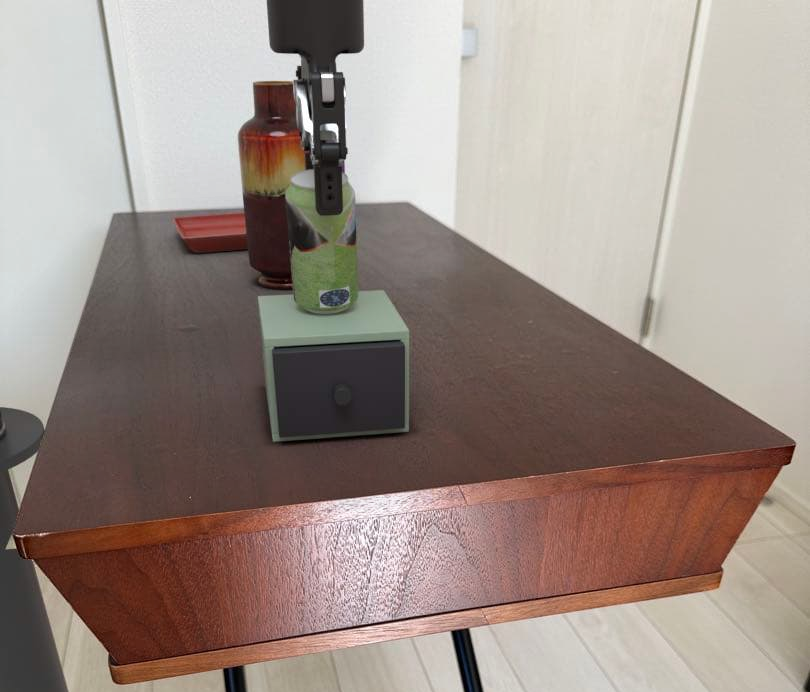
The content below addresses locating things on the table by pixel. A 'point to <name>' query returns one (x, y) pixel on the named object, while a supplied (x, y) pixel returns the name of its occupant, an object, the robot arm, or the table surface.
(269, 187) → the vase
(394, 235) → the table surface
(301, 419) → the drawer
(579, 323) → the table surface
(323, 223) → the beverage can
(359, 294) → the cabinet
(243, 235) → the plant saucer
